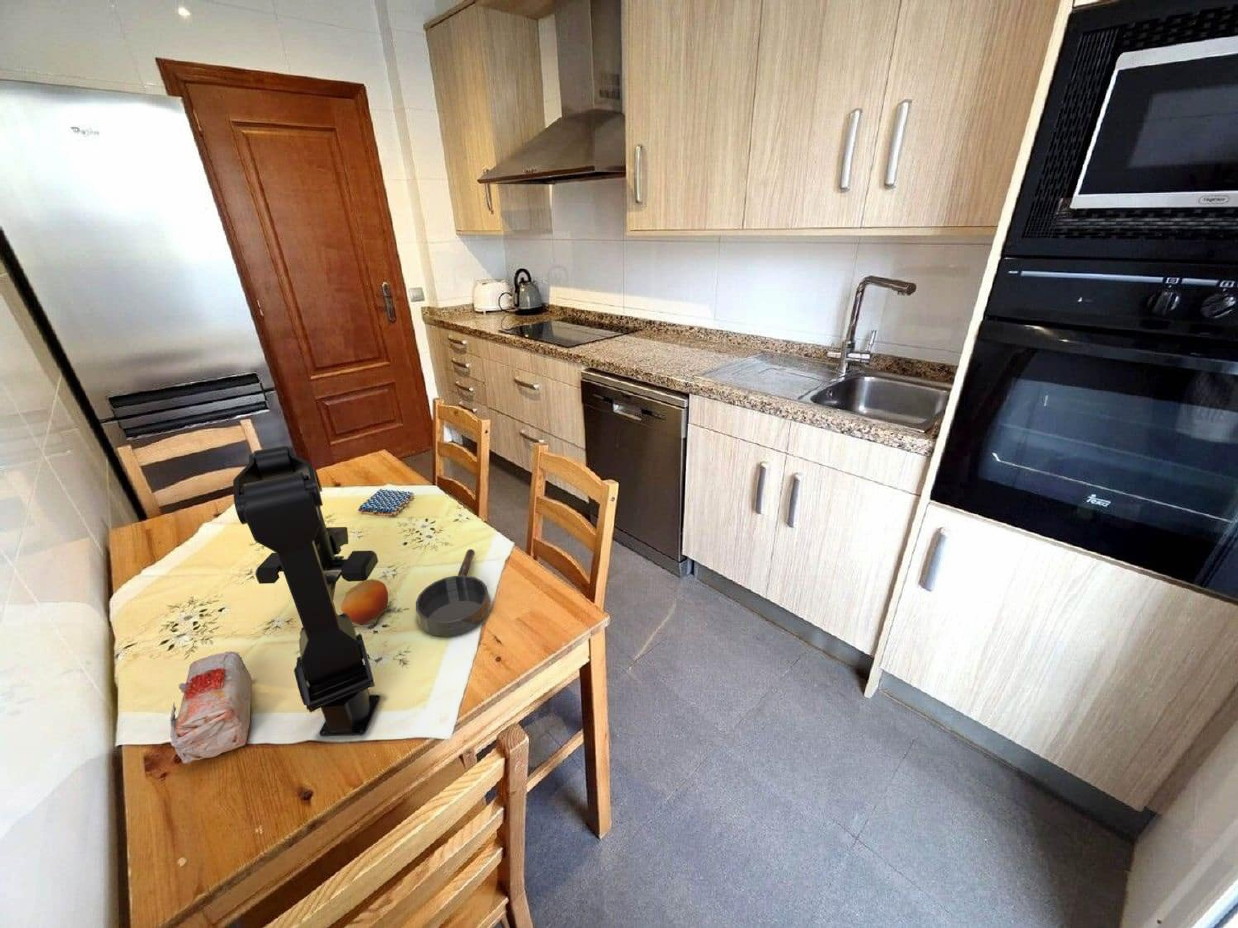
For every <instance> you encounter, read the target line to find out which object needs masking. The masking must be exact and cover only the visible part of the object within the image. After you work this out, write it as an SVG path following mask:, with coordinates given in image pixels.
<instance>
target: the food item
mask: <svg viewBox="0 0 1238 928" xmlns="http://www.w3.org/2000/svg"><path fill="white" fill-rule="evenodd" d="M252 686H253V685H252V675H251V673H250V671H249V670H248V669H247V667H246V664H245V662H244V660H243V657H242V656H241V655H240V653H239V652H235V651H225V652H221V653H215V654H211V655H209V656H206V657H203V658H200V659H197V660H195V661H193V662H191V663H190V664H189V669H188V674H187V677H186V681H185V683H183V682H182V683H178V689H179V690H181V693H183V694H182V695H183V696H182V697H181V702H180V708H179V711H178V714H177V717H176V710H177V707H176V705H175V702H174V703H173V705H172V709H171V715H170V718H169V721H170V734H169V735H170V745H171V747H173V748H174V749H175V753H176V755H177V756H178V757H179V758H180V759H181V762H182V763H183V764H185V765H186V764H187V765H188V764H191V763H192V762H194V761H199V760H202V759H206V758H207V759H208V758H209V759H210V758H214V757H217V756H219V755H221V754H222V753H227V752H230V751H233V750H236V749H238V748H240V747H244V746H246V744H247V741H248V735H249V729H250V720H251V719H250V718H251V703H252V688H253V687H252Z"/></svg>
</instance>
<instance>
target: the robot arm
mask: <svg viewBox="0 0 1238 928" xmlns="http://www.w3.org/2000/svg"><path fill="white" fill-rule="evenodd" d="M318 474H319V473H318V471H317V468H316V467H314V466H313V464H312V463H311V462H310V461H307V460H305V459H304V458H302V457H299V456H298V455H297V453H296V449H295V447H294V445H290V446H289V445H287V444H285V445H279V446H273V447H268V448H262V449H256V450H254V451H253V452H252V453H248V464H247V465H246V466H244V468H243V469H242V470H241V471H240V472H239V473H238V474H237V475H236V476H235V477H234V478H233V481H232V485H233V487H232V490H233V504H234V508H235V512H236V515H237V517H238V520H239V522H240V524H241V525H247V526H248V529H249V531H250V534H251V536H252V538H253V540H254V541H255V542H256V543H258V544H259V545H261V546H263V547H265V548H266V549H269V550H270V551H272V552H271V553H270V554H269V555H268V556H267V557H266V558H265V560H263V561H262V562H261V563H260V565H258V566H257V568H256V569H255V573H254V576H255V579H256V580H257V583H258V584H261V585H264V584H265V585H266V584H267V585H268V584H275V583H277V581H278V580H279V579H280V575H279V574H280V573H281V572H283V575H284V577H285V581H286V584H287V587H288V589H289V592H290V594H291V595H290V596H291V597H292V600H293V603H294V605H295V608H296V611H297V614H298V616H299V617H298V618H299V619H300V622H301V625H302V627H301V629H300V631H299V636H300V637H299V639H298V643H299V644H298V645H299V646H298V647H299V656H297V657H296V666H295V667H294V669H293V672H294V676H295V680H296V685H297V688H298V692H299V696H300V699H301V701H302V704H303V705H304V706H305V707H306V710H307V711H309V713H314V712H315V711H316V710H319V709H321V712H322V715H323V717H324V720H325V721H324V722H323V725H322V726H321V729H320V730H319V736H320V737H322V738H324V737H325V738H327V737H350V736H351V737H352V736H355V737H356V736H363V735H365V734H366V733H367V731H368V729H369V726H370V724H371V721H372V720H373V717H374V715H375V712H376V711H377V708H378V705H379V703H380V701H381V695H379V694H370V691H369V689H370V688H374V687H376V684H375V683H376V682H375V679H374V675H373V670H372V667H371V662H370V659H369V656H368V652H367V649H366V645H365V642H364V637H363V635H362V633H360V634H358V635H357V632H356V629H355V626H354V623H353V622H351V621H350V618H349V616H348V615H347V614H345V613H344V614H343V613H341V614H338V612H337V609H336V606H335V603H334V600H335V592H336V586H337V582H338V581H339V579H340V578H342V579H343V580H344V581H346V582H362V581H364V580H369V577H370V575H371V574H372V572H373V571H374V569H375V567H376V566H377V564H378V563H379V559H378V555H377V553H376V552H375V551H373V550H352V551H351V552H350V554H349V555H348V557H347V558H345V556H344V555H340V553H341V552H342V548H341V547H344V545H348V544H349V533H348V532H349V531H348V527H347V526H326V523H325V519H324V516H323V512H322V508H321V506H322V507H323V506H324V503H323V499H322V495H321V494H322V492H323V488H322V483H321V481H320V477H319V475H318Z"/></svg>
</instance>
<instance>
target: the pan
mask: <svg viewBox="0 0 1238 928" xmlns="http://www.w3.org/2000/svg"><path fill="white" fill-rule="evenodd" d="M490 609H491V602H490V595H489V590H488V586H487V585H486V583H484V581H483V580H481V579H479V578H477V577H474V576H471V575H467V576H466V575H464V576H458V575H453V576H452V575H451V576H447V577H443V578H441V579H439V580H436V581H434V582H432V583H431V584H429V585H428V586H426V587H425V588H424V589H423V590H422V591H421V592H420V593H419V594H418V596H417V598H416V600H415V612H416V613H415V614H416V617H417V621H418V624H419V627H420V628H421V630H422V631H423V632H425V633H426V634H428V635H430V636H432V637H435V638H453V637H458V636H463V635H465V634H467V633H469V632H472V631H473V630H475V629H476V628H478V627H479V626H480V625H482V623H483V622H484V621H486V618H487V617H488V615H489V613H490Z"/></svg>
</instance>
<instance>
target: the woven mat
mask: <svg viewBox="0 0 1238 928" xmlns="http://www.w3.org/2000/svg"><path fill="white" fill-rule="evenodd" d="M413 499H415V494H414V492H413V491H412V492H410V491H404V490H402V491H400V490H393V489H391V490H388V489H382V488H380V489H379V490H377V491H376V492H374V493H373V494H372V495H371V496H369V498H368V499H366V501H364V502H363V503H362V504H360V506H359V508H358V510H357V511H358V512H359V513H360V514H366V515H374V514H377V515H379V516H390V517H391V516H396V515H399V513H400V511H401V510H403V509H404V508H406V507H408V505H407V504H410V502H411V500H413Z"/></svg>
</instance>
